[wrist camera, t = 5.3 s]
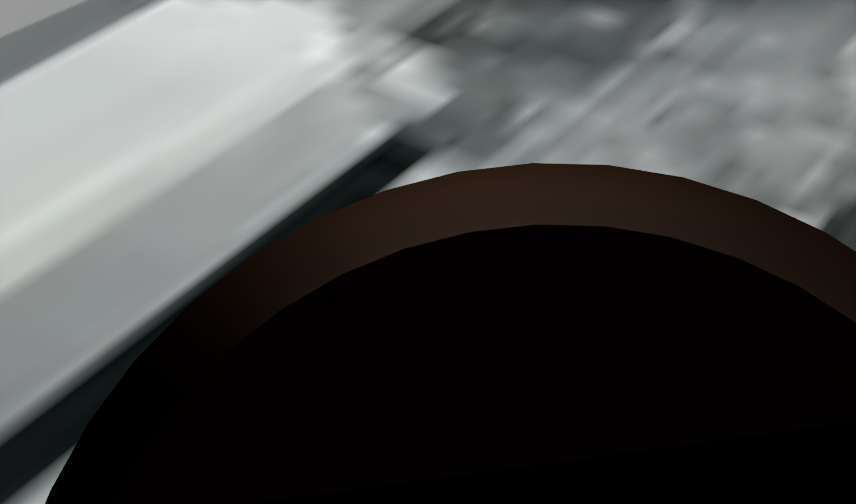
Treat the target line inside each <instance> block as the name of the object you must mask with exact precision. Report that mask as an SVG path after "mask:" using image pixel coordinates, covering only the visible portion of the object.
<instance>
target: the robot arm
mask: <svg viewBox="0 0 856 504" xmlns="http://www.w3.org/2000/svg"><path fill="white" fill-rule="evenodd" d="M342 495H343V492H337V493H332V496H331V504H340V503H341V499H342Z"/></svg>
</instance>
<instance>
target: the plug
mask: <svg viewBox="0 0 856 504" xmlns="http://www.w3.org/2000/svg"><path fill="white" fill-rule="evenodd" d="M337 492H343V495H342V499H341V503H340V504H856V252H855V251H854V250H852V249H851V248H849V247H847V246H846V245H844V244H843V243H841V242H840V241H838V240H837V239H835V238H833V237H832V236H830V235H829V234H827V233H826V232H824V231H821V230H819V229H817V228H815V227H813V226H811V225H808V224H806V223H804V222H802V221H800V220H798V219H796V218H793V217H791V216H789V215H787V214H785V213H783V212H781V211H778V210H776V209H774V208H772V207H770V206H768V205H766V204H763V203H761V202H759V201H757V200H754V199H751V198H748V197H745V196H741V195H738V194H735V193H732V192H728V191H725V190H722V189H719V188H715V187H712V186H709V185H706V184H703V183H699V182H696V181H693V180H690V179H686V178H683V177H677V176H671V175H665V174H659V173H653V172H647V171H641V170H635V169H629V168H622V167H616V166H610V165H582V164H542V163H531V164H522V165H513V166H504V167H496V168H487V169H478V170H469V171H461V172H455V173H451V174H447V175H444V176H440V177H436V178H432V179H428V180H424V181H420V182H417V183H413V184H409V185H405V186H401V187H397V188H393V189H389V190H386V191H383V192H380V193H378V194H376V195H373V196H371V197H368V198H366V199H363V200H361V201H359V202H356V203H354V204H351V205H349V206H346V207H344V208H342V209H339V210H337V211H334V212H332V213H329V214H327V215H325V216H322V217H320V218H317V219H315V220H313V221H311V222H310V223H308V224H306V225H305V226H303V227H301V228H299V229H298V230H296V231H294V232H293V233H291V234H289V235H287V236H286V237H284V238H282V239H281V240H279V241H277V242H276V243H274V244H272V245H270V246H269V247H267V248H265V249H264V250H262V251H260V252H258V253H257V254H255V255H253V256H252V257H250V258H248V259H247V260H246V261H245V262H243V263H242V264H241V265H239V266H238V267H237V268H236V269H234V270H233V271H232V272H230V273H229V274H228V275H227V276H225V277H224V278H223V279H222V280H220V281H219V282H218V283H216V284H215V285H214V286H213V287H211V288H210V289H209V290H207V291H206V292H205V293H204V294H202V295H201V296H200V297H199V298H197V299H196V300H195V301H193V302H192V303H191V304H190V305H188V306H187V308H186V309H185V310H184V311H183V312H182V313H181V314H180V315H179V316H178V317H177V318H176V319H175V320H174V321H173V322H172V323H171V324H170V325H169V326H168V327H167V328H166V329H165V330H164V331H163V332H162V333H161V334H160V335H159V336H158V337H157V338H156V339H155V340H154V341H153V342H152V343H151V344H150V345H149V347H148V348H147V349H146V350H145V351H144V352H143V353H142V354H141V355H140V356H139V357H138V358H137V359H136V360H135V361H134V362H133V364H132V365H131V366H130V368H129V369H128V370H127V372H126V373H125V374H124V376H123V377H122V378H121V380H120V381H119V383H118V384H117V385H116V387H115V388H114V389H113V391H112V392H111V393H110V395H109V396H108V397H107V399H106V400H105V401H104V403H103V404H102V405H101V407H100V408H99V409H98V411H97V412H96V413H95V415H94V416H93V417H92V419H91V420H90V421H89V423H88V425H87V426H86V428H85V430H84V432H83V434H82V435H81V437H80V439H79V441H78V442H77V444H76V446H75V448H74V450H73V451H72V453H71V455H70V457H69V459H68V460H67V462H66V464H65V466H64V467H63V469H62V471H61V473H60V475H59V476H58V478H57V480H56V482H55V484H54V485H53V487H52V489H51V491H50V493H49V496H48V498H47V501H46V503H45V504H331V496H332V493H337Z"/></svg>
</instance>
